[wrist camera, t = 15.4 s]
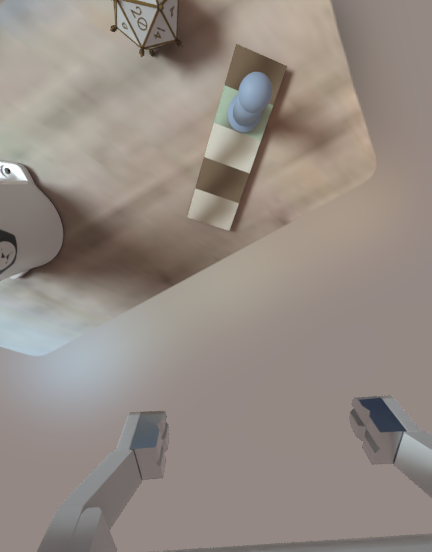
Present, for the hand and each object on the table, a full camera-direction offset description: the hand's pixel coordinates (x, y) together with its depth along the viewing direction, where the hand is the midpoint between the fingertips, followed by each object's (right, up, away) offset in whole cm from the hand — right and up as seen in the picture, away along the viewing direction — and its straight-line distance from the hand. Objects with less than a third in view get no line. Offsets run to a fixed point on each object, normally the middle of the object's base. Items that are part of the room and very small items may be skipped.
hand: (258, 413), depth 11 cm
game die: (-10, +37, +21) cm, 44 cm away
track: (0, +25, +26) cm, 36 cm away
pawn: (+2, +28, +23) cm, 36 cm away
